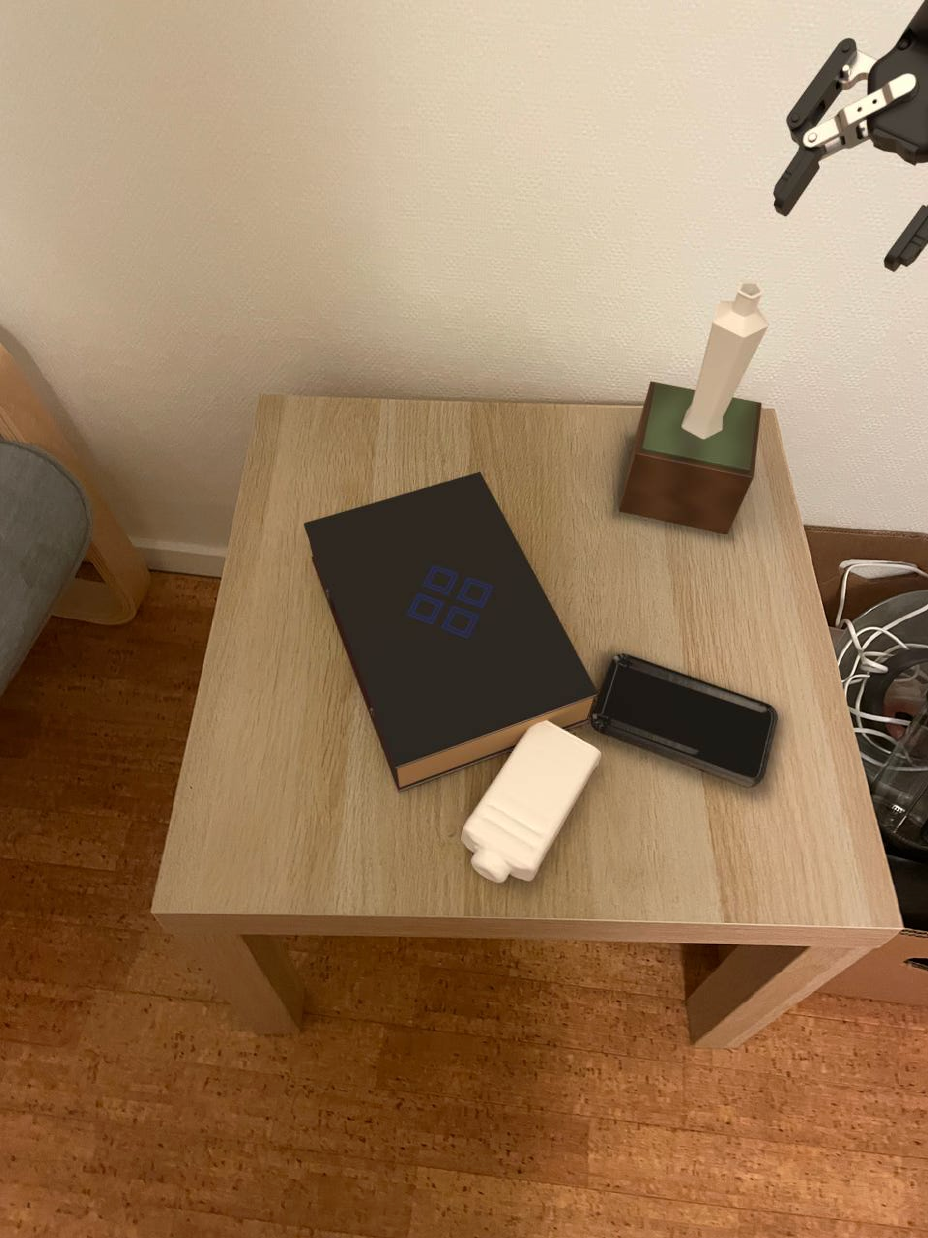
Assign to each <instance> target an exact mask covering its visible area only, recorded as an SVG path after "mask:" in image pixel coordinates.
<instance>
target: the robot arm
mask: <svg viewBox="0 0 928 1238" xmlns="http://www.w3.org/2000/svg"><path fill="white" fill-rule="evenodd" d="M866 80H867V87H866V88H867V89H866V95H865V96H864V97H862V98H860V99H858V100H856V101H853V102H852V103H850V104H848V105H846V106H844V107H843V108H841V109H840V110H839V111H838V112H837V113H836V115H834V116H833V117H831V118H829V119H827V120H825V121H823V122H822V123H821V120H822V119H823V117H824V116H825V115H826V113H828V111H829V109H830V108H831V106H832V105H833V104H834V102H835V101H836V100H837V98H838V97H839V96H840V94H841V93H842V91H848V90H851V89H852V88H854V87H855V86H856V84H858V83H859V82H861V81H866ZM785 122H786V125H787V128H788V130H789V133H790V134H789V135H790V138H791V140H792V142H793V143H796V145H797V146H798V149H797V151H796V153H795V154H794V156H793V158H792V159H791V161H790V162H789V164H788V165H787V167H786V168H785V169H784V172H782V174H781V176H780V177H779V179H778V180H777V182H776V183H775V185H774V189H773V192H772V194H773V197H774V201H773V207H774V209H775V211H776V213H777V214H779V215H781V216H783V217H788V216H789V215H790V213H791V212H792V211H793V209H794V207H795V206H796V204H797V203H798V202H799V200H800V199H801V197H802V195H803V194H804V192H805V191H806V189H807V188H808V186H809V185H810V183H811V182H812V180H813V179H814V178H815V176H816V175H817V173H818V172H819V170H820V169H821V167H820V163H819V162H820V161H822V160H825V159H827V158H829V157H830V156H832V155H834V154H836V153H839V152H841V151H842V150H844V149H845V150H846V149H847V150H850V149H853V148H856V147H857V146H859V145H861V144H864V143H866V142H868V141H871V143H872V145H873V147H874V148H875V149H877V150H879V151H882V152H886V153H894V154H896V155H897V156H898V157H899V158H901V159H902V161H904V162H905V163H908V164H910V165H912V166H914V167H915V166H917V165H918V164H926V163H927V164H928V0H923V2H922V3H921V5H920V6H919V7H918V9H917V11H916V12H915V14H914V15H913V16H912V18H911V19H910V21H909V23H908V24H907V26H906V27H905V29H904V30H903V31H902V33H901V35H900V37H899V38H898V40H897V42H896V43H895V45H893V47H892V48H891V49H890V50H889V51H888V52H887V53H886V54H884V55H883V56H881V57H880V58H878V59H877V58H875V57H873V56H871V55H869V54H868V53H866V52H863V51H862V50H860V49H859V48H858V47H857V42H856V41H855V39H854V38H852V37H846V38H844V39H842V40H841V41H840V42H839V43H838V44H837V45H836V46H835V48H834V49H833V51H832V52H831V53H830V55H829V57H828V58H827V59H826V61H824V63H823V65H822V66H821V68H820V69H819V70H818V72H817V73H816V74H815V76H814V77H813V79H812V80H811V81H810V83H809V84H808V86H807V87H806V89H805V90H804V91H803V93H802V94H801V95H800V97H799V98H798V100H797V101H796V103H795V104H794V105H793V107H792V109H790V111H789V113H788V114H787V115H786V119H785ZM927 246H928V204H927V205H925V204H922V205H921V206H920V208H919V209H918V210H917V212H916V213H915V214H914V216H913V217H912V218H911V220H910V222H909V223H908V224H907V226H905V228H904V229H903V231H902V232H901V234H900V235H899V236H898V238H897V239H896V240H895V242H894V244H893V245H892V246H891V248H889V250H888V251H887V253H886V255H885V257H884V258H883V266H884V268H885V269H887V270H888V271H891V272H892V273H895V272H897V270H898V269H899V268H900V266H903V267H905V268H908V267H910V266H911V265H912V264H913V263H915V262H916V261H917V259H918V258H919V257H920V256H921V254H922V252H923V251H924V250H925V248H926V247H927Z"/></svg>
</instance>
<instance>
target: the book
mask: <svg viewBox="0 0 928 1238" xmlns="http://www.w3.org/2000/svg"><path fill="white" fill-rule="evenodd" d="M303 526H304V530H305V533H306V535H307V539H308V542H309V547H310V550H311V555H312V556H311V561H312V563H313V567H314V570H315V572H316V575H317V577H318V580H319V583H320V585H321V588H322V591H323V593H324V596H325V600H326V602H327V604H328V608H329V609H330V610H329V611H330V612H331V615H332V618H333V620H334V623H335V626H336V628H337V631H338V634H339V636H340V637H339V638H340V639H341V642H342V645H343V647H344V649H345V653H346V655H347V658H348V661H349V664H350V665H351V669H352V672H353V674H354V676H355V680H356V682H357V685H358V687H359V690H360V693H361V695H362V696H361V697H362V698H363V701H364V704H365V706H366V709H367V712H368V714H369V718H370V719H371V723H372V724H373V728H374V730H375V733H376V736H377V738H378V741H379V744H380V746H381V749H382V752H383V755H384V757H385V760H386V762H387V765H388V768H389V770H390V773H391V776H392V779H393V781H394V785H395V786H396V789H397V792H398V793H401V792H404V791H408V790H410V789H413V788H415V787H418V786H421V785H423V784H426V783H428V782H431V781H434V780H436V779H437V780H438V779H440V778H442V777H445V776H447V775H450V774H454V773H456V772H459V771H461V770H463V769H464V770H465V769H467V768H470V767H473V766H475V765H477V764H480V763H483V762H486V761H488V760H491V759H493V758H496V757H499V756H502V755H505V754H507V753H509V752H513V750H514V748H515V747H516V745H517V744H518V742H519V741H520V739H521V738H522V736H523V735H524V733H525V732H526V730H527V729H528V728H529V727H531V726H533V725H535V724H537V723H540V722H543V721H546V720H547V721H549V722H551V723H552V724H554V725H556V726H558V727H559V728H562V729H563V730H565V731H566V732H568V731H569V730H572V729H574V728H578V727H580V726H583V725H585V724H588V723H589V720H590V719H589V717H588V716H589V713H590V710H591V707H592V703H593V701H594V698H595V697H598V695H599V691H598V690H597V688H596V686H595V684H594V682H593V680H592V678H591V677H590V675H589V673H588V670H587V669H586V666H585V665H584V663H583V662H582V659H581V658H580V656H579V654H578V653H577V651H576V649H575V646H574V644H573V643H572V641H571V639H570V637H569V636H568V633H567V632H566V630H565V628H564V626H563V623H562V622H561V620H560V618H559V616H558V614H557V613H556V611H555V609H554V606H553V605H552V604H551V601H550V599H549V598H548V596H547V594H546V592H545V591H544V590H545V589H544V588H543V586H542V584H541V583H540V580H539V579H538V577H537V575H536V573H535V571H534V570H533V568H532V566H531V564H530V562H529V560H528V558H527V557H526V554H525V553H524V550H523V549H522V547H521V545H520V543H519V541H518V540H517V537H516V536H515V534H514V532H513V530H512V529H511V526H510V524H509V523H508V520H507V519H506V517H505V515H504V513H503V512H502V510H501V508H500V505H499V503H498V502H497V500H496V498H495V496H494V495H493V493H492V491H491V489H490V487H489V485H488V483H487V481H486V479H485V478H484V476H483V473H482V472H481V471H477V472H474V473H470V474H467V475H464V476H460V477H457V478H453V479H450V480H447V481H442V482H440V483H437V484H433V485H430V486H425V487H423V488H419V489H416V490H413V491H409V492H406V493H402V494H399V495H395V496H392V497H389V498H384V499H382V500H378V501H374V502H372V503H369V504H365V505H361V506H357V507H354V508H351V509H348V510H344V511H340V512H338V513H333V514H330V515H327V516H324V517H320V518H317V519H314V520H310V521H307V522H304V523H303Z"/></svg>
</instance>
